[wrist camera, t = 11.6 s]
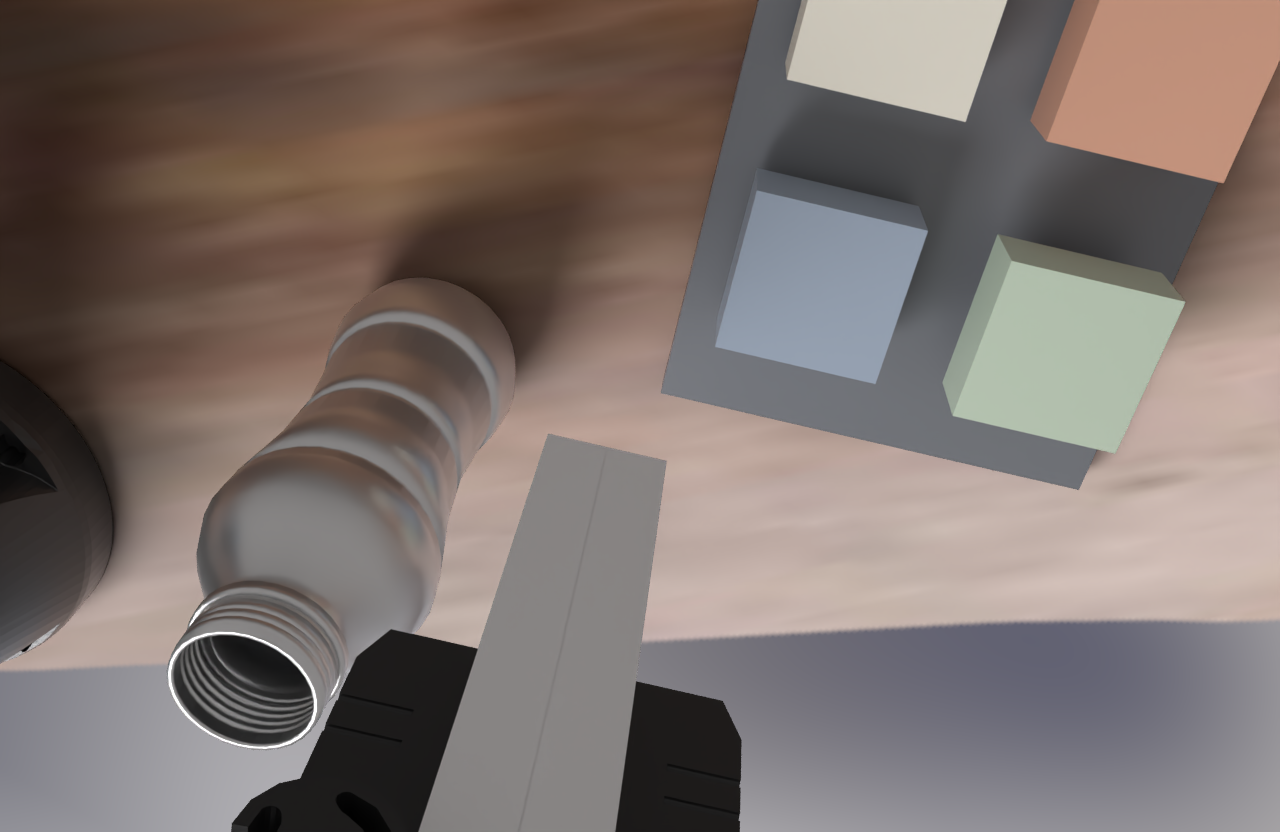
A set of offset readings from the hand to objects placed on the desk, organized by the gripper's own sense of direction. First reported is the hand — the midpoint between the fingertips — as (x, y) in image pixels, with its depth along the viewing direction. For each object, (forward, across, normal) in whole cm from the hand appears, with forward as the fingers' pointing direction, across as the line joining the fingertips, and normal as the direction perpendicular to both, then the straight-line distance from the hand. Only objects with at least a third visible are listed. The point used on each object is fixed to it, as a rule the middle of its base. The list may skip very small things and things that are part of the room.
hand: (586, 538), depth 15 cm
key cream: (+27, +5, +4) cm, 28 cm away
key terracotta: (+27, +14, +4) cm, 30 cm away
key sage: (+26, +14, -5) cm, 29 cm away
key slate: (+27, +6, -5) cm, 28 cm away
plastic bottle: (+29, -7, -12) cm, 32 cm away
